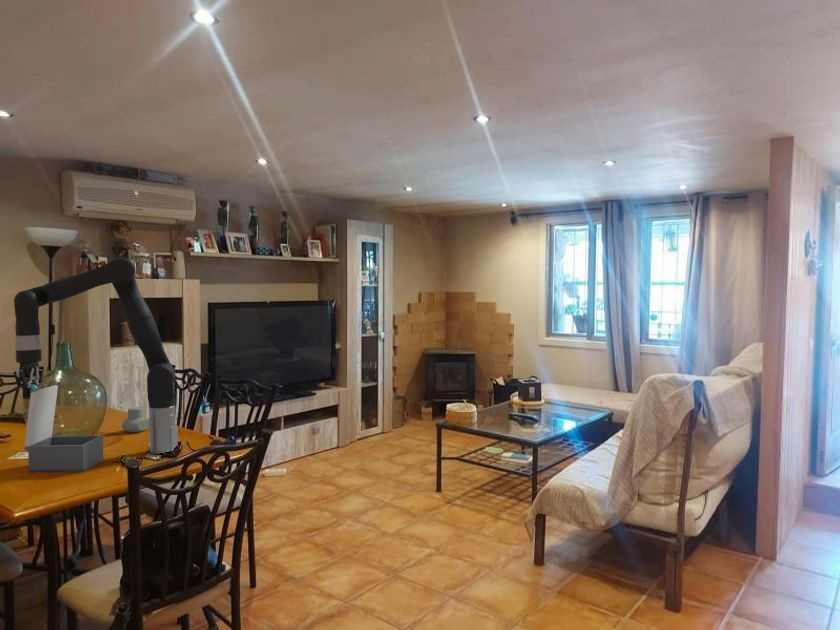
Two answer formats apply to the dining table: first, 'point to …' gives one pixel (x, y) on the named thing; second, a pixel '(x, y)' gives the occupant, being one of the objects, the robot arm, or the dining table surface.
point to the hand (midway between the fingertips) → (30, 397)
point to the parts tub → (65, 454)
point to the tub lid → (40, 414)
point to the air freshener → (135, 420)
